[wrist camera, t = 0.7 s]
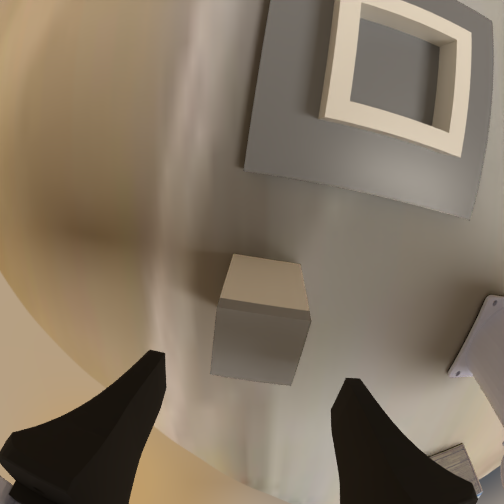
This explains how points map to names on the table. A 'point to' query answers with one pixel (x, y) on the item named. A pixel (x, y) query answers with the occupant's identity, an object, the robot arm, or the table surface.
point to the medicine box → (459, 465)
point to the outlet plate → (376, 98)
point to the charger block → (260, 321)
